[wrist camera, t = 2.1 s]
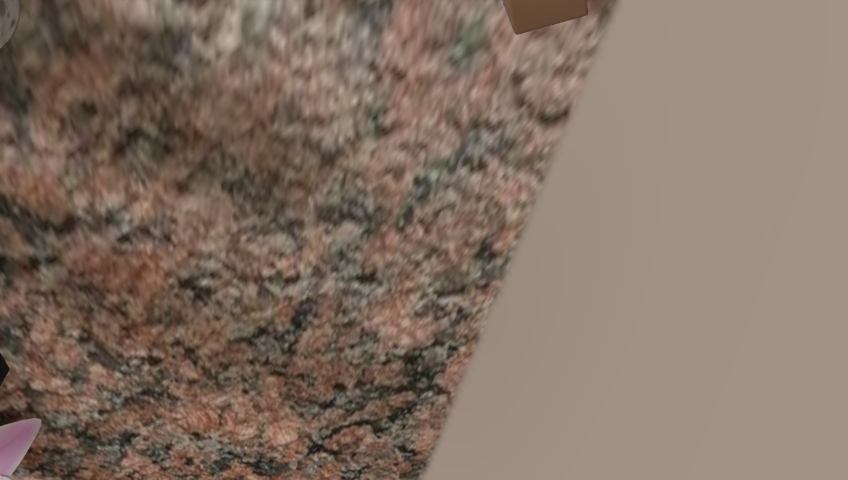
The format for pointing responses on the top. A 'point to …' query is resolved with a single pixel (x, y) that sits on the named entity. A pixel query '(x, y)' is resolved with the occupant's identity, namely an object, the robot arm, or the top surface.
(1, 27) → the mug
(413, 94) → the top surface
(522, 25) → the brown l-shaped piece
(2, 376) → the robot arm
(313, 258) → the top surface
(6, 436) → the lily
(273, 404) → the top surface
